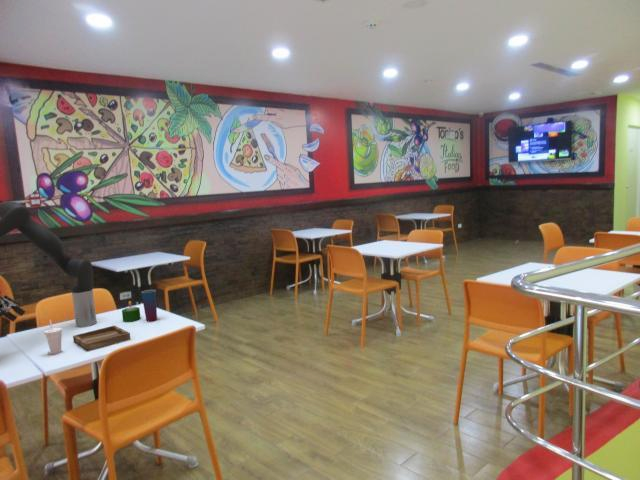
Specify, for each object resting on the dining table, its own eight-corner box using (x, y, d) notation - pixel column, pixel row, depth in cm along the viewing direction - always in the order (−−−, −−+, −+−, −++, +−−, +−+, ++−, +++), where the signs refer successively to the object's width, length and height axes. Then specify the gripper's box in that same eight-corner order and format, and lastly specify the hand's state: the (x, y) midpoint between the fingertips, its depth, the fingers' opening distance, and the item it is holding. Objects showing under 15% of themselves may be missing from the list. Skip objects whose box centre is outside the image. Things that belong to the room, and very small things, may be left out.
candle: (136, 322, 228) (134, 302, 227) (120, 322, 228) (118, 303, 227) (143, 317, 236) (141, 298, 235) (127, 317, 236) (125, 299, 235)
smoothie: (52, 350, 193) (47, 318, 191) (67, 349, 193) (63, 317, 191) (44, 356, 186) (39, 322, 184) (60, 354, 187) (56, 321, 185)
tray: (73, 342, 202) (72, 335, 201) (115, 331, 214) (114, 325, 214) (87, 351, 189) (86, 344, 188) (130, 339, 201) (129, 332, 201)
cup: (154, 322, 225) (151, 292, 223) (141, 322, 226) (138, 293, 225) (161, 318, 232) (158, 289, 230) (149, 318, 233) (146, 289, 231)
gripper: (-19, 288, 174) (19, 314, 178) (-3, 281, 188) (32, 305, 192) (-33, 303, 173) (5, 329, 178) (-16, 295, 187) (20, 318, 191)
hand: (19, 316), depth 185 cm, fingers open, 8 cm apart
